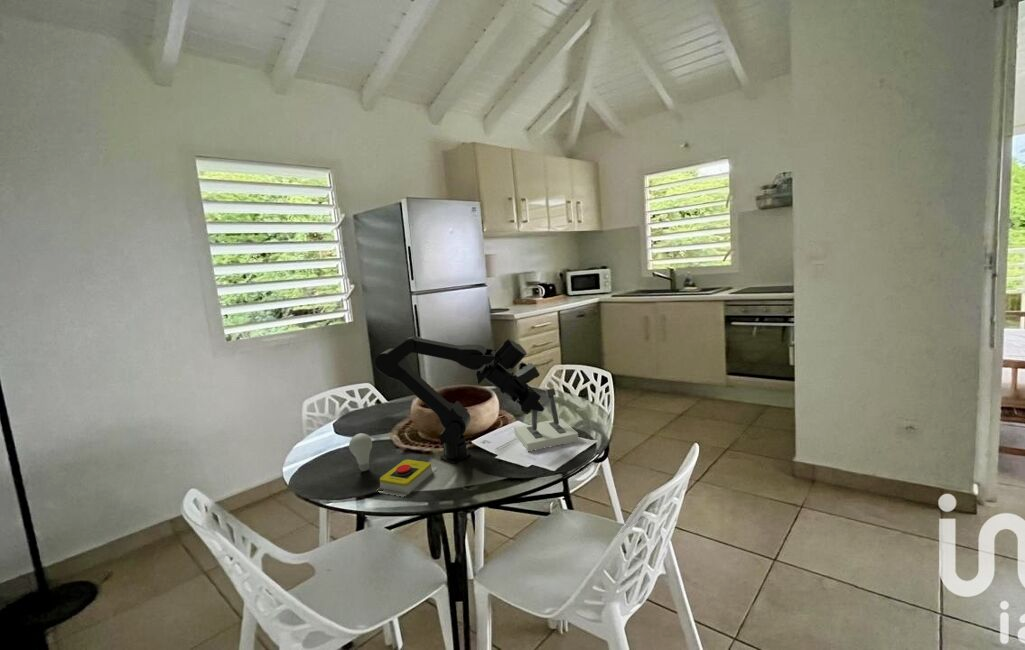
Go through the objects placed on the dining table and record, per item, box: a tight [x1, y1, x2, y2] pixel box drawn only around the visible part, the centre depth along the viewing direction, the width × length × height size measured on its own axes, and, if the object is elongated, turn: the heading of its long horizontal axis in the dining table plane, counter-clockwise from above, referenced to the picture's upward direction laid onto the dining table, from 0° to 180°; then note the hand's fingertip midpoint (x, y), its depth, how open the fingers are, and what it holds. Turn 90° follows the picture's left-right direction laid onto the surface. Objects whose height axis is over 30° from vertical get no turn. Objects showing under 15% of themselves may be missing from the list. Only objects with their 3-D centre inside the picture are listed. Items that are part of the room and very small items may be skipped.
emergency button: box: [377, 459, 438, 498], centre depth 115 cm, size 9×4×15 cm
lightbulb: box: [348, 432, 373, 472], centre depth 121 cm, size 6×6×11 cm
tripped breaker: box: [531, 399, 541, 430], centre depth 130 cm, size 2×2×11 cm
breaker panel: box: [513, 388, 580, 452], centre depth 132 cm, size 16×13×14 cm
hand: (543, 410), depth 125 cm, fingers closed
